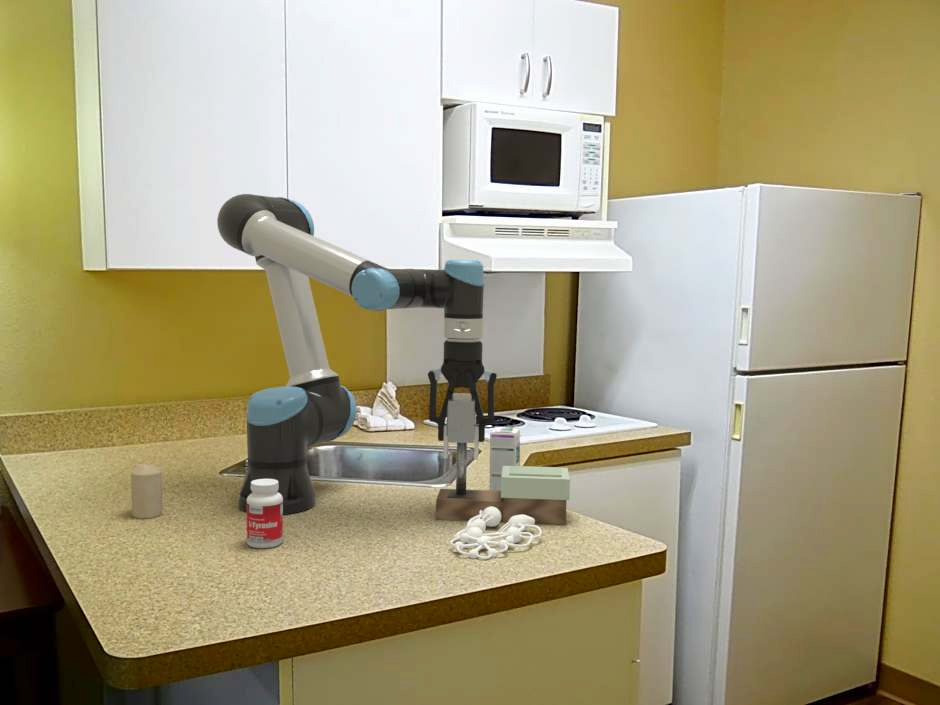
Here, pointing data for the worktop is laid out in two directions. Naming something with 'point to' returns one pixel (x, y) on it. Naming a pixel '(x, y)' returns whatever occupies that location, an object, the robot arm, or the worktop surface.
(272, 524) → the pill bottle
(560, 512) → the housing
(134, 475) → the candle
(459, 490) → the block
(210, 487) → the worktop surface
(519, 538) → the tangled rod sculpture
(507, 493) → the cover
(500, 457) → the syrup box
